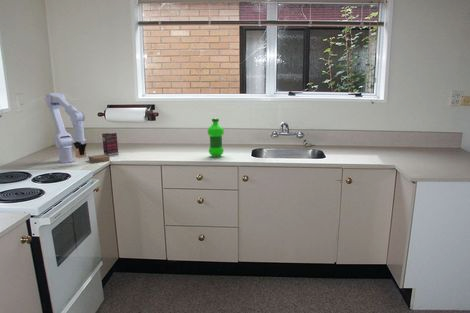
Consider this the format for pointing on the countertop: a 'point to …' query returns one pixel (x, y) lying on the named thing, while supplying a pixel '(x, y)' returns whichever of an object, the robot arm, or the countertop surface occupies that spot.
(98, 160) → the walnut base
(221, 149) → the plastic bottle
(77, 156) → the terracotta cube
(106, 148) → the supplement box
